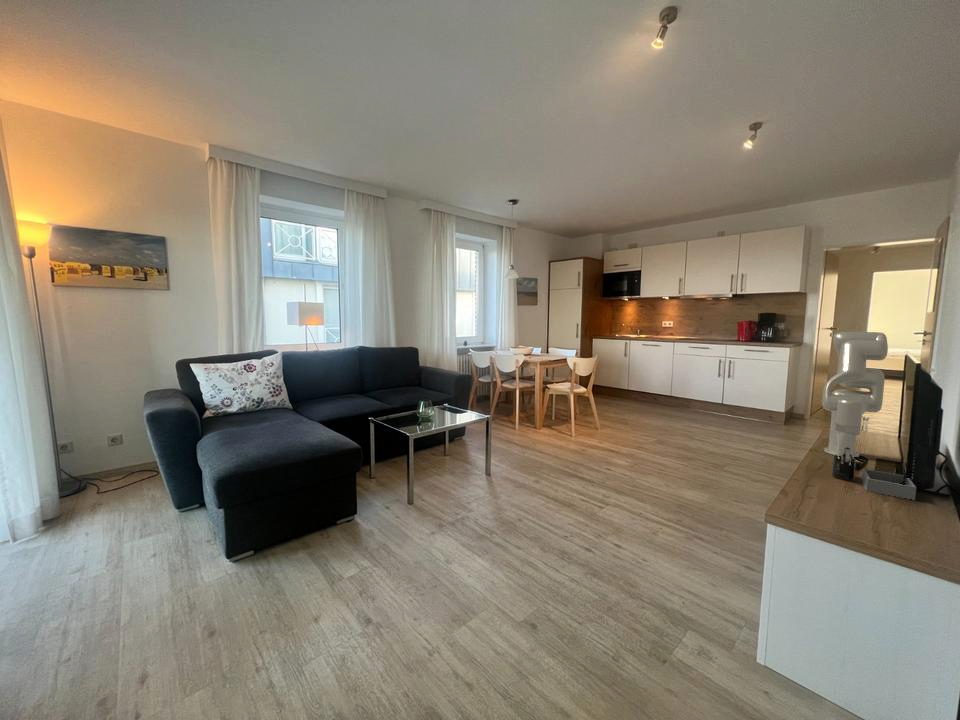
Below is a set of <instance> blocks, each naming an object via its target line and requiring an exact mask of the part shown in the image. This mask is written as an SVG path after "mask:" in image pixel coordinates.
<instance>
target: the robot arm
mask: <svg viewBox="0 0 960 720" xmlns="http://www.w3.org/2000/svg"><path fill="white" fill-rule="evenodd" d="M832 342H833V346H834V349H835V351H836V354H837V358H838V363H837V373H836V374H834V375H833V376H832V377H831V378H829V379H828V380H827V381H826V383H825V384H824V385H823V386H824V387H823V389H822V398H821V405H822V408H823V409H824V410H826V411H828V412H831V418H830V428H829V437H828V438H829V439H828V446H826V447H824V448H823V451H824V452H825V453H827V454H829V455H833V456H834V455H837V456H841V463H840V469H839V472H840V473H843V474H850V470H851V458H854V457H857V458H859V457H860V454H859V452H856V447H857V446H856V444H857V436H859V435H861V430H862V429H861V428H862V420H863V414H865V413H879V412H880V411H881V409H882V407H883V402H884V401H883V400H884V389H885V374H884V372H883V371H882V370H881V369H878V368H869V367H867V361H883V360H886V358H887V356H888V353H889V352H888V351H889V345H888V337H887V335H886V334H885V333H884V332H879V331H840V332H836V333H835V334H834V335H833V337H832ZM837 385H839V386H841V387H844V388H843V389H841V388H840V389H836V390H833V388H834V387H835V386H837ZM845 387H846V388H855V389H846V388H845ZM857 389H866V390H868V391H865V390H864V391H863V390H857ZM843 455H845V456H843ZM851 455H852V456H851ZM843 458H845V459H843Z"/></svg>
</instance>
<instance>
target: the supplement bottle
mask: <svg viewBox="0 0 960 720" xmlns="http://www.w3.org/2000/svg"><path fill="white" fill-rule="evenodd" d="M843 456H845V455H843ZM851 456H852V455H851ZM843 459H845V458H843ZM856 462H857V461H856V458H851V470H850V474H843V473H840V472H839V469H840V463H841V456H837V455H833V459H832V466H831V467H832V469H831V476H832V477H833V478H836V479H838V480H841V481H842V480H843V481H849V482H850V481H854V479H855V474H856V473H855V472H856Z"/></svg>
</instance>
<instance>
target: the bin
mask: <svg viewBox="0 0 960 720" xmlns="http://www.w3.org/2000/svg"><path fill="white" fill-rule="evenodd" d="M860 477H861V478H860V481H861V483H862V484H863V487H864V489H865V491H866V492H867V493H874V494H879V495H883V494H884V496H888V495H890V496H889V497H894V496H896V497H895V498H899V497H900V499H904V498H907V499H906V500H909V499H912V500H911V501H914V500H916V494H917V485H915V484H914V483H913V481H912V480H911V479H910V478H906V479H905V485H903V484H900V483H902V482H903V481H904V474H898V473H892V472H885V471H880V470H873V469H868V468H862V469H861V476H860ZM892 482H894V483H892Z"/></svg>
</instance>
